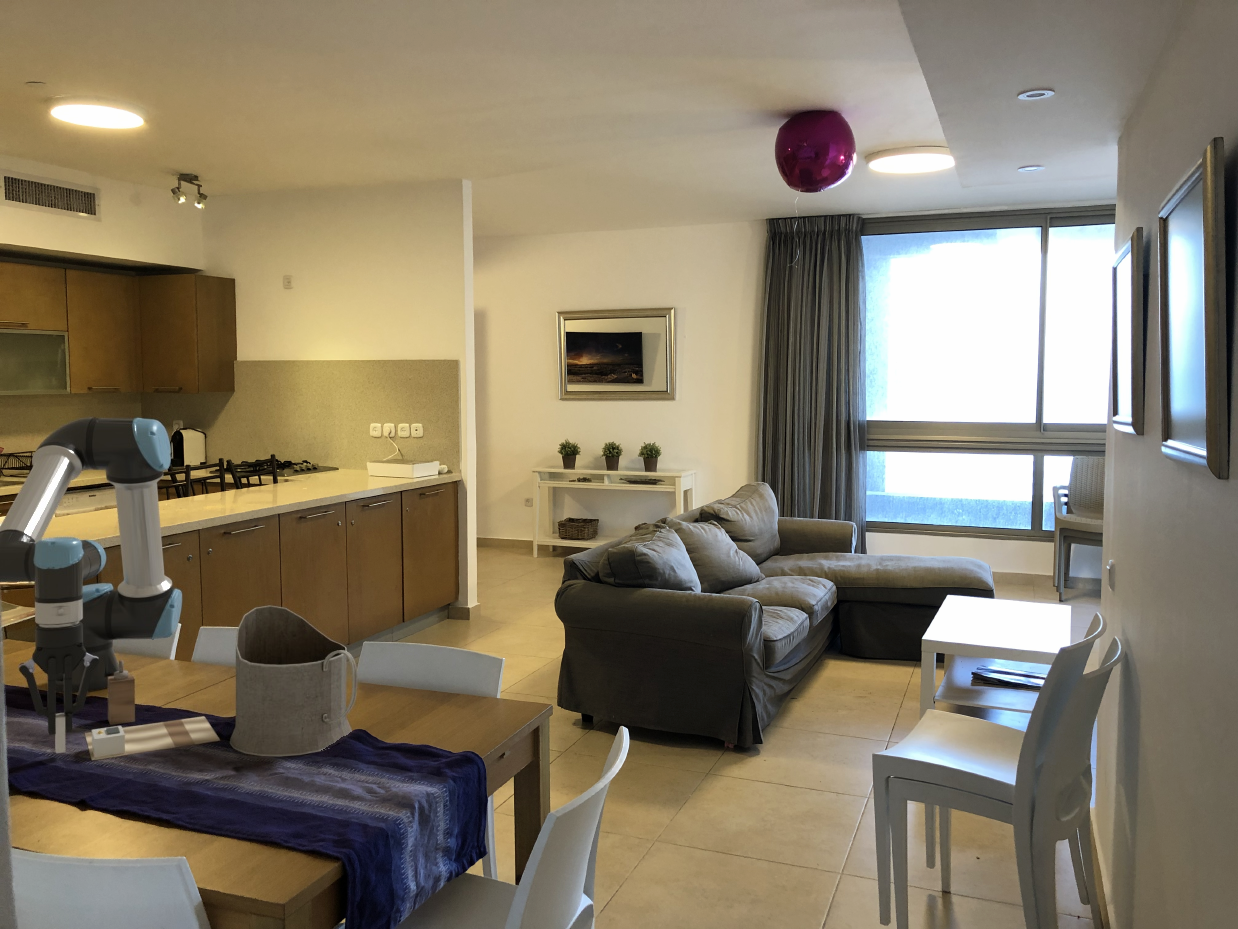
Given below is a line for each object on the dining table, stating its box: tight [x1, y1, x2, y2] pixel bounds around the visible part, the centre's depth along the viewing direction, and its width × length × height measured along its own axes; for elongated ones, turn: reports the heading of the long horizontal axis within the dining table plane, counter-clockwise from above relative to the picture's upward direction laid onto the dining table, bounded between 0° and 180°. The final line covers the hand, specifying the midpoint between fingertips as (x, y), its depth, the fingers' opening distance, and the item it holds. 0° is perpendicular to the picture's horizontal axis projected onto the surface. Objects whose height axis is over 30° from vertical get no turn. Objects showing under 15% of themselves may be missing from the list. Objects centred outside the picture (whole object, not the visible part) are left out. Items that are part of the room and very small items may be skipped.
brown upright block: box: [107, 659, 136, 726], centre depth 198 cm, size 4×4×14 cm
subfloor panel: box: [84, 716, 221, 761], centre depth 189 cm, size 17×22×1 cm
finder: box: [91, 725, 125, 758], centre depth 181 cm, size 6×5×4 cm
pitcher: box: [229, 605, 358, 757], centre depth 192 cm, size 23×32×25 cm
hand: (60, 750), depth 177 cm, fingers closed
